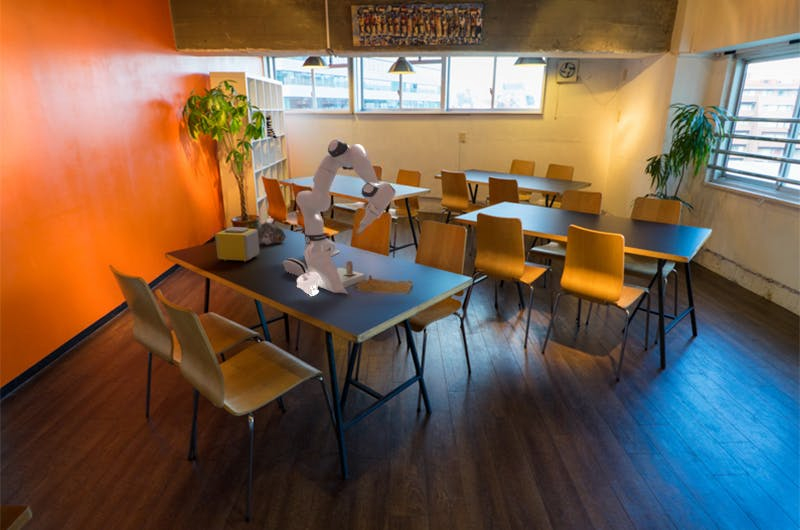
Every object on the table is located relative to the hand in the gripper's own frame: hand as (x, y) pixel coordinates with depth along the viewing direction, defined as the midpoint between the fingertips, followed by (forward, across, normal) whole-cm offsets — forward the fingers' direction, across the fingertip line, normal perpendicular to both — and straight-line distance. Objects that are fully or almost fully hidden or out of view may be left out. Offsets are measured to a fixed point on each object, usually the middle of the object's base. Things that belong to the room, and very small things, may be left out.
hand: (358, 232), depth 236 cm
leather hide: (+16, +16, +27) cm, 35 cm away
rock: (+35, -80, -39) cm, 96 cm away
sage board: (+26, +1, +7) cm, 27 cm away
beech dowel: (+23, +2, +11) cm, 25 cm away
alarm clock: (+52, -45, -45) cm, 82 cm away
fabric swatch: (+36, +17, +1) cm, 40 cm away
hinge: (+37, -12, -13) cm, 41 cm away
